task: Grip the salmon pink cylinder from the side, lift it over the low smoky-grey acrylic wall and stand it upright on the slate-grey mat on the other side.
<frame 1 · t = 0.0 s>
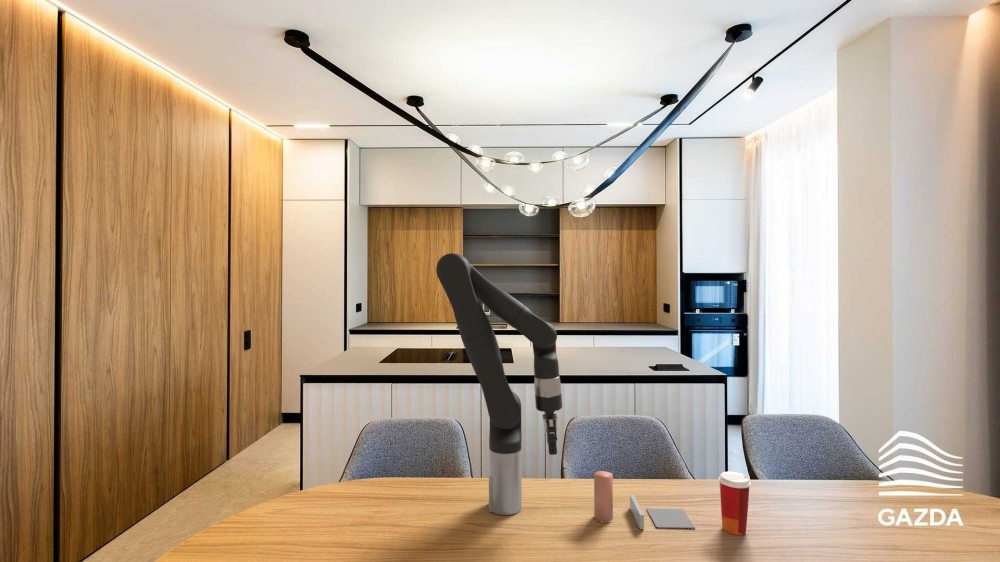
hand: (552, 448, 142), 17 cm above the table, tool pointing down, fingers open, 8 cm apart
resting mat: (669, 519, 136), on the table
paper cup: (733, 530, 131), on the table
salmon pink cylinder: (603, 518, 137), on the table
acrylic wall: (636, 518, 137), on the table
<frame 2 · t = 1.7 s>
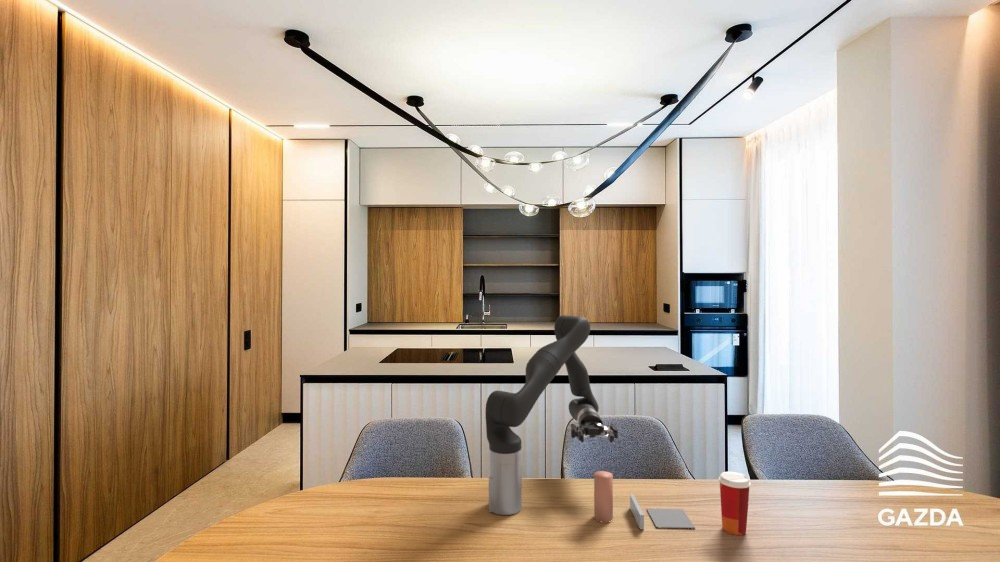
hand: (597, 439, 148), 18 cm above the table, tool horizontal, fingers open, 8 cm apart
nothing on the table moved.
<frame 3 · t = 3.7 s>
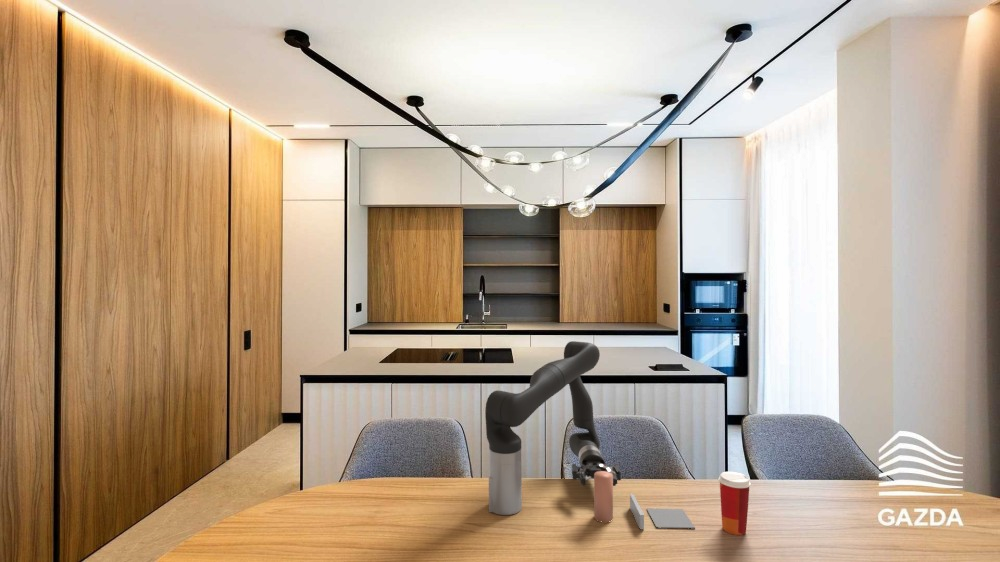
hand: (599, 482, 143), 7 cm above the table, tool horizontal, fingers open, 8 cm apart
nothing on the table moved.
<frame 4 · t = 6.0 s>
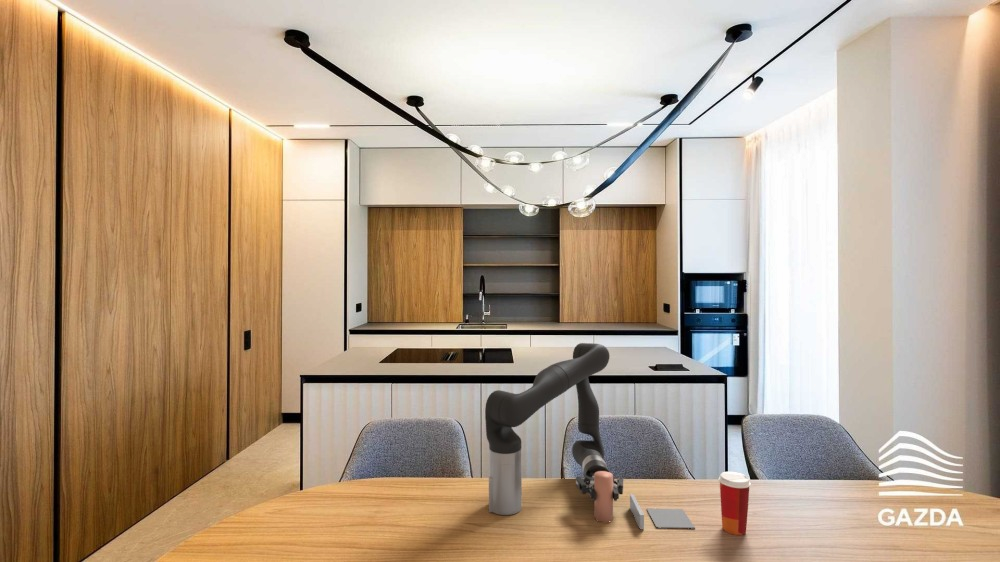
hand: (605, 497, 134), 7 cm above the table, tool horizontal, fingers closed on salmon pink cylinder, 5 cm apart
salmon pink cylinder: (603, 518, 137), on the table, touching gripper
everything else where it was.
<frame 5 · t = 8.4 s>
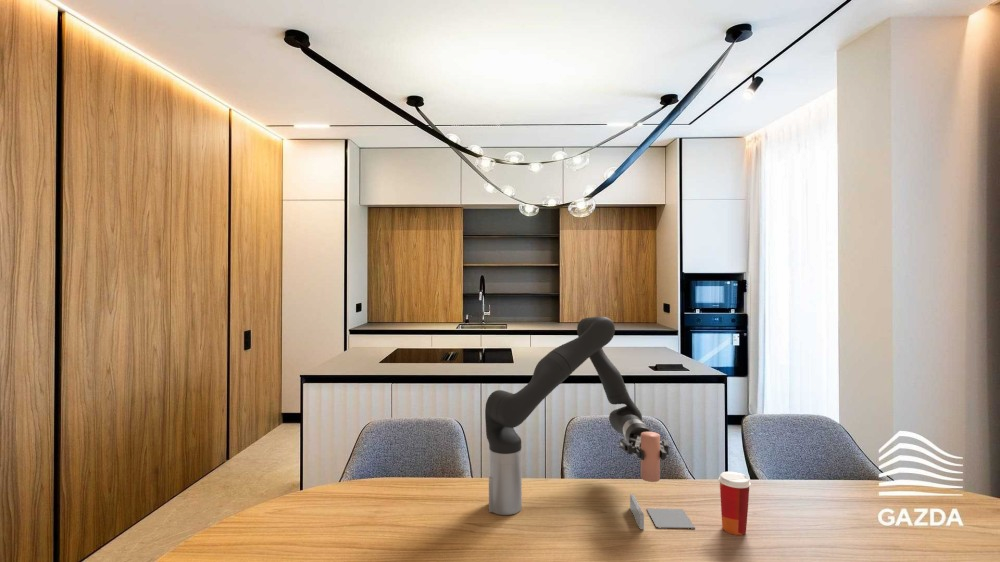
hand: (653, 456, 134), 18 cm above the table, tool horizontal, fingers closed on salmon pink cylinder, 5 cm apart
salmon pink cylinder: (650, 478, 137), point 11 cm above the table, touching gripper
everything else where it was.
when the fingers open (8 cm above the table, at t = 11.1 s): salmon pink cylinder stays where it is, resting on resting mat.
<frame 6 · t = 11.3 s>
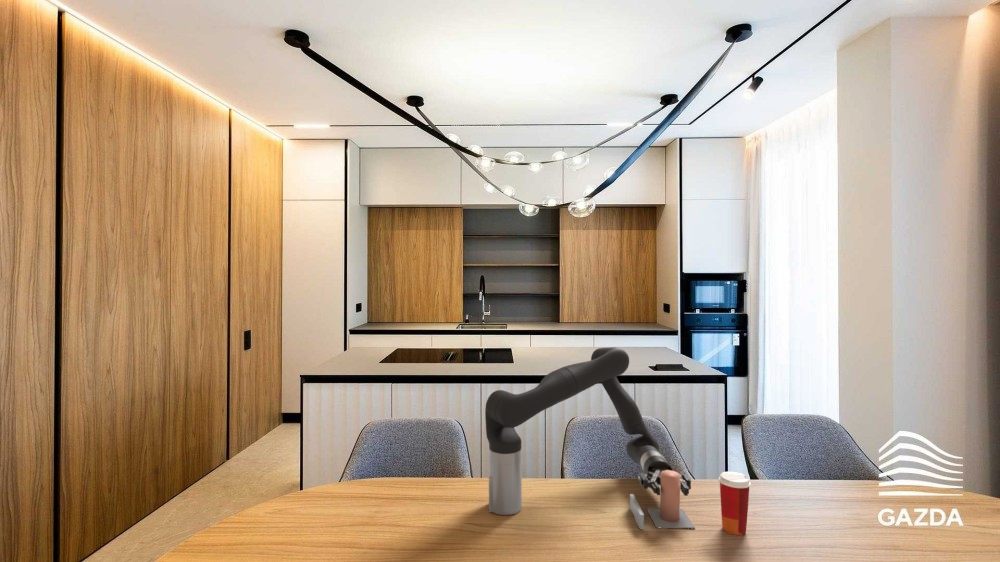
hand: (672, 492, 134), 8 cm above the table, tool horizontal, fingers open, 6 cm apart
salmon pink cylinder: (669, 517, 136), resting on resting mat
everything else where it was.
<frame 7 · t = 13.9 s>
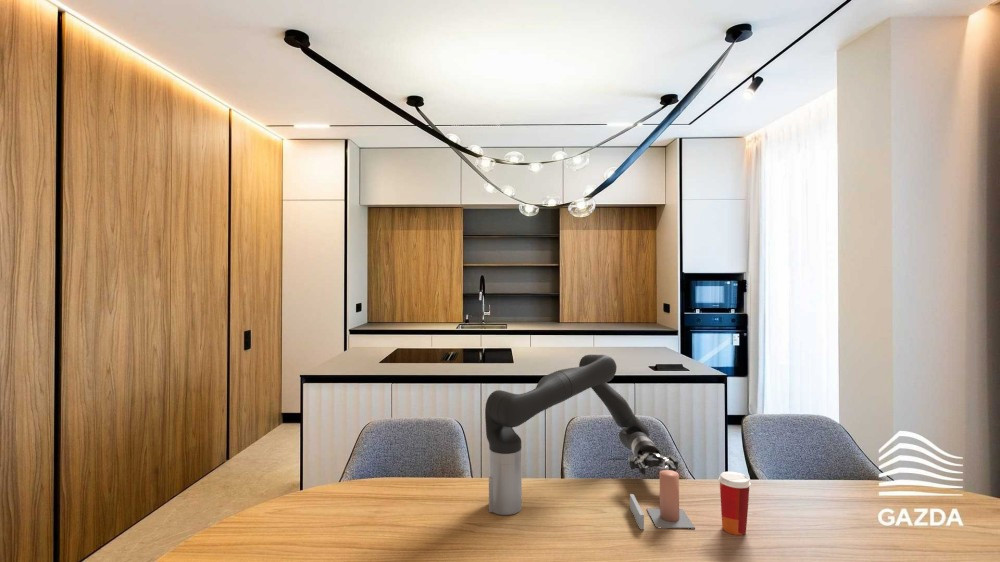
hand: (659, 471, 147), 9 cm above the table, tool horizontal, fingers open, 8 cm apart
nothing on the table moved.
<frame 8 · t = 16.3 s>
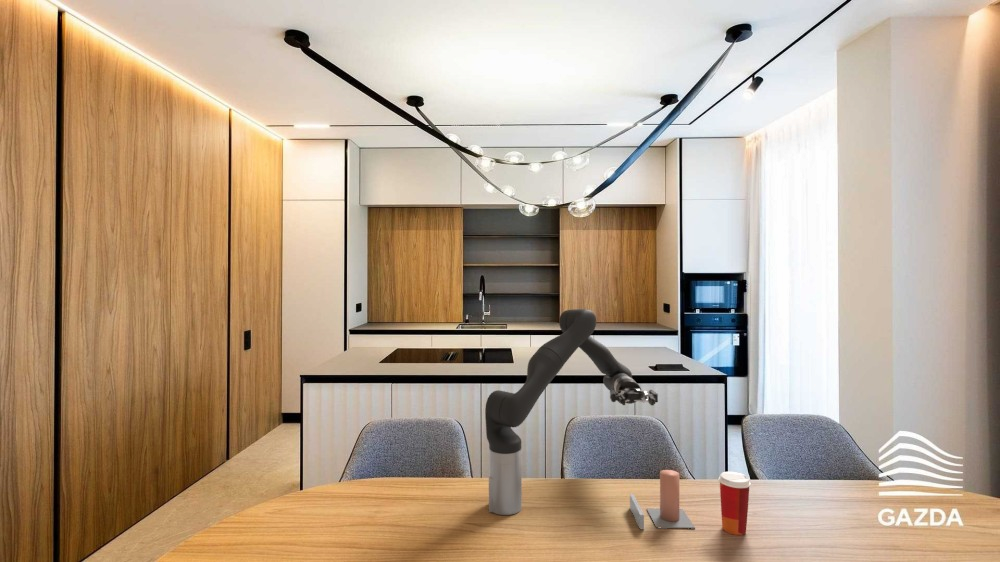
hand: (638, 402, 151), 28 cm above the table, tool horizontal, fingers open, 8 cm apart
nothing on the table moved.
at the end: salmon pink cylinder 0.1 cm off-centre on the resting mat, point 0.5 cm above the resting mat's base; salmon pink cylinder tilted 1°; the gripper is holding nothing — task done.
